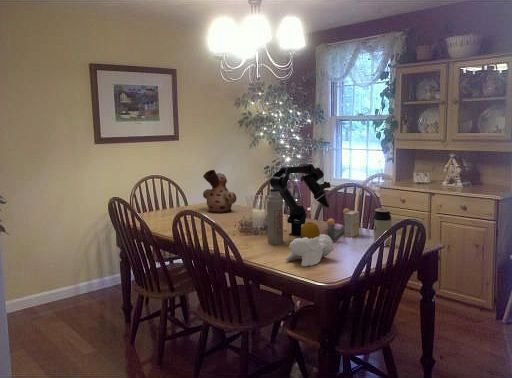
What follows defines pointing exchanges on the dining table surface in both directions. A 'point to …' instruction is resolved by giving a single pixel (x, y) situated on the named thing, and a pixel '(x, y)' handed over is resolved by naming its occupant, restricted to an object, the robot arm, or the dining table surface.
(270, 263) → the dining table surface
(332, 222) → the cord guide
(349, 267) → the dining table surface
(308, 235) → the apple
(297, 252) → the cherub figurine
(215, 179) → the vessel
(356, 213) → the supplement box
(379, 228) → the travel mug
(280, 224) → the thermos bottle
